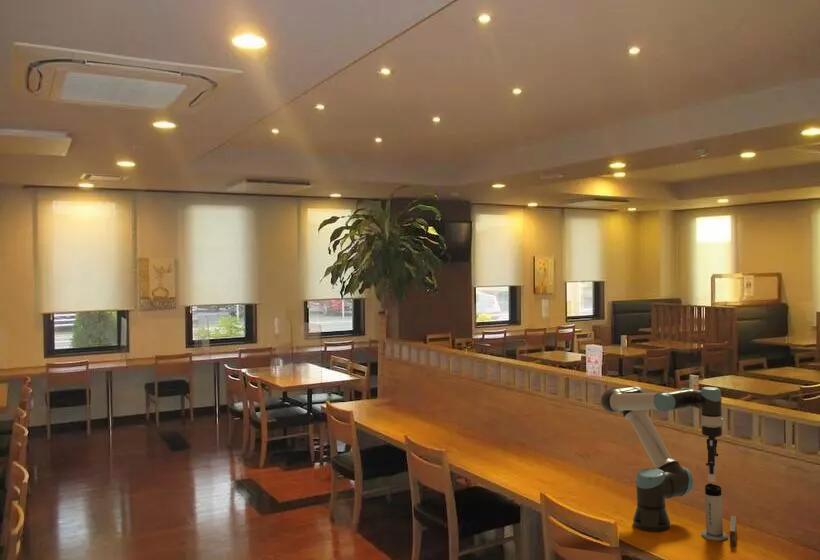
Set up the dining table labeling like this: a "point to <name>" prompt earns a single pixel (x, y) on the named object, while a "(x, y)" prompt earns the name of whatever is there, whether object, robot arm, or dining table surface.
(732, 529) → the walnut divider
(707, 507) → the travel mug
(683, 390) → the robot arm
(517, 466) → the dining table surface
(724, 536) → the slate saucer
